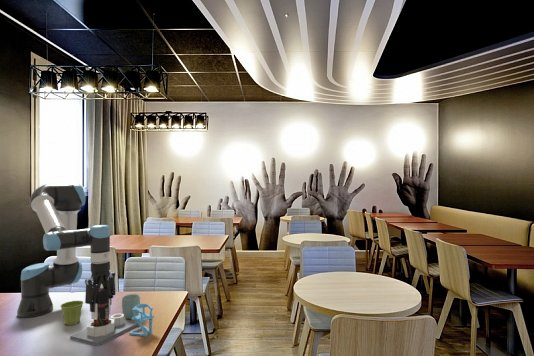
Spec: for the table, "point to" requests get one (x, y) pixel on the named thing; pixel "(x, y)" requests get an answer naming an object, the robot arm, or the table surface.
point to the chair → (142, 320)
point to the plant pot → (72, 312)
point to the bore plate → (103, 338)
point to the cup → (130, 305)
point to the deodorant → (102, 307)
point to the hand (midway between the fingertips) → (101, 316)
